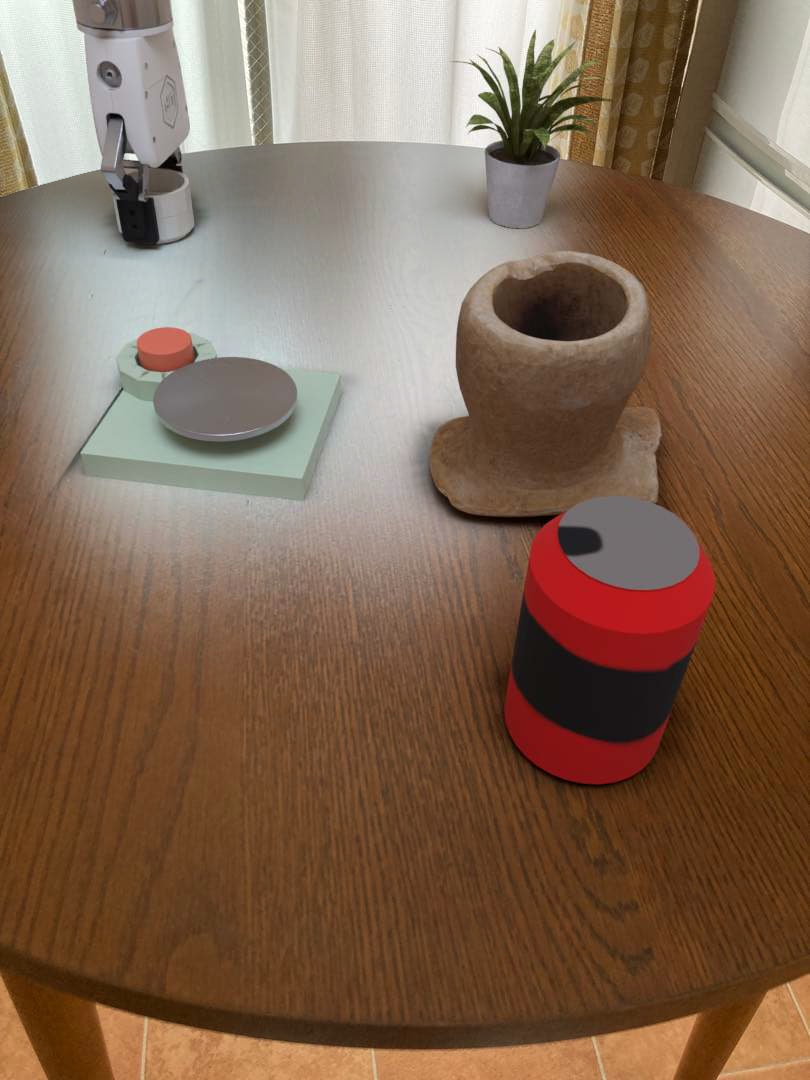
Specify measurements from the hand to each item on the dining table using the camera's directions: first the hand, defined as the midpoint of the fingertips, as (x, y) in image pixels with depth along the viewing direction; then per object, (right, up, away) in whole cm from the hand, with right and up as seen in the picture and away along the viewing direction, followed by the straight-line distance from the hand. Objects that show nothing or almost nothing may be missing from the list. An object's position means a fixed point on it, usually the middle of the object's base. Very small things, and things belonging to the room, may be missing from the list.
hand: (156, 222), depth 85 cm
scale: (+11, -22, -23) cm, 34 cm away
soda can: (+31, -38, -40) cm, 63 cm away
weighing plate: (+12, -20, -26) cm, 35 cm away
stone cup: (+32, -26, -26) cm, 49 cm away
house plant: (+33, +1, +5) cm, 33 cm away
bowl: (0, -1, 0) cm, 1 cm away
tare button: (+7, -17, -22) cm, 29 cm away
